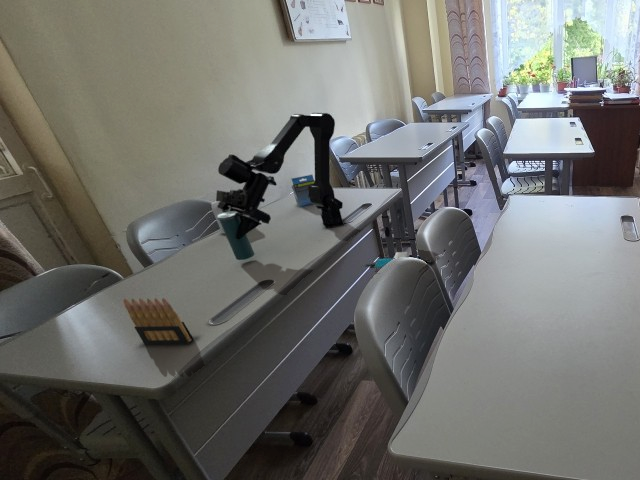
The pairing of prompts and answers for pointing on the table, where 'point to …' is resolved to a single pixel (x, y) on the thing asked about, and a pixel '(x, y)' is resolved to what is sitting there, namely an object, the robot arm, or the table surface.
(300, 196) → the label tape box
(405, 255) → the phone stand
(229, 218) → the tin
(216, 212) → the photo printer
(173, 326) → the ammunition clip
